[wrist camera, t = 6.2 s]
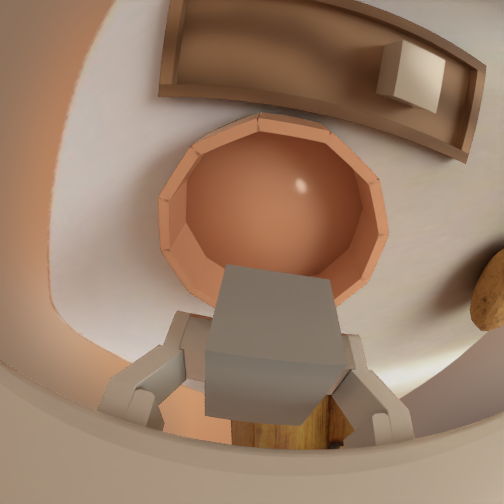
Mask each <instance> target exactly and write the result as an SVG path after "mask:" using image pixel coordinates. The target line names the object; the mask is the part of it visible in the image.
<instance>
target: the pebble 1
mask: <svg viewBox="0 0 504 504" xmlns="http://www.w3.org/2000/svg"><path fill="white" fill-rule="evenodd" d="M346 366H347V363H346V357H345V352H344V346H343V341H342V336H341V331H340V326H339V321H338V316H337V311H336V306H335V302H334V297H333V293H332V288H331V284H330V280H329V279H323V278H316V277H309V276H302V275H295V274H289V273H282V272H275V271H269V270H262V269H255V268H249V267H242V266H236V265H230V264H226V267H225V271H224V275H223V279H222V283H221V287H220V291H219V295H218V299H217V303H216V307H215V311H214V315H213V319H212V323H211V328H210V332H209V336H208V340H207V344H206V349H205V416H210V417H216V418H223V419H229V420H236V421H244V422H253V423H263V424H276V425H294V426H301V425H302V424H303V423H304V421H305V420H306V419H307V418H308V417H309V415H310V414H311V413H312V412H313V410H314V409H315V408H316V407H317V405H318V404H319V403H320V402H321V400H322V399H323V398H324V396H325V395H326V394H327V392H328V391H329V390H330V388H331V387H332V386H333V384H334V383H335V381H336V380H337V379H338V377H339V376H340V374H341V373H342V372H343V370H344V369H345V367H346Z"/></svg>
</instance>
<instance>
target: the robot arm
mask: <svg viewBox="0 0 504 504" xmlns="http://www.w3.org/2000/svg"><path fill="white" fill-rule="evenodd" d="M212 319H213V318H211V317H206V316H201V315H197V314H192V313H186V312H182V311H177V312H176V313H175V315H174V318H173V321H172V323H171V326H170V329H169V331H168V334H167V337H166V339H165V342H164V345H158V346H157V347H155V348H154V349H152V350H151V351H150V352H148V353H147V354H145V355H144V356H142V357H141V358H139V359H138V360H137V361H135V362H134V363H132V364H131V365H129V366H128V367H126V368H125V369H123V370H122V371H121V372H119V373H118V374H116V375H115V376H113V377H112V378H110V380H109V382H108V385H107V387H106V390H105V392H104V394H103V397H102V400H101V402H100V404H99V407H98V409H97V410H95V409H93V408H90V407H88V406H85V405H83V404H81V403H78V402H76V401H74V400H71V399H69V398H67V397H65V396H63V395H61V394H59V393H57V392H55V391H53V390H51V389H49V388H47V387H45V386H43V385H41V384H39V383H38V382H36V381H34V380H32V379H30V378H29V377H27V376H25V375H23V374H22V373H20V372H18V371H17V370H15V369H14V368H12V367H10V366H9V365H7V364H6V363H4V362H2V361H1V360H0V504H504V412H501V413H499V414H496V415H494V416H492V417H489V418H487V419H484V420H481V421H478V422H475V423H473V424H469V425H466V426H463V427H460V428H457V429H453V430H450V431H446V432H443V433H439V434H435V435H431V436H427V437H422V438H417V439H415V437H414V432H413V428H412V423H411V418H410V414H409V410H408V409H407V407H406V406H405V405H404V404H403V403H402V402H401V401H400V400H399V399H398V398H397V397H396V396H395V395H394V393H393V392H392V391H391V390H390V389H389V388H388V387H387V386H386V385H385V384H384V383H383V382H382V381H381V379H380V378H379V377H378V376H377V375H376V374H375V373H374V372H373V371H372V370H368V367H367V362H366V358H365V354H364V350H363V346H362V342H361V338H360V336H359V335H352V334H341V336H342V341H343V346H344V352H345V357H346V363H347V366H346V367H345V369H344V370H343V372H342V373H341V374H340V376H339V377H338V379H337V380H336V381H335V383H334V384H333V386H332V387H331V388H330V390H329V391H328V392H327V394H326V395H332V397H333V399H334V400H335V402H336V403H337V405H338V406H339V408H340V409H341V411H342V412H343V413H344V415H345V416H346V418H347V419H348V421H349V422H350V424H351V425H352V427H353V428H354V430H355V431H354V432H353V433H351V434H350V435H349V436H347V437H346V438H345V439H344V440H343V442H344V449H324V450H289V449H269V448H256V447H246V446H237V445H229V444H222V443H215V442H210V441H204V440H198V439H193V438H188V437H183V436H178V435H175V434H171V433H166V432H163V427H164V420H163V418H162V415H161V413H160V410H159V407H158V405H159V404H160V403H162V401H164V400H165V399H166V398H167V397H168V396H169V395H170V394H171V393H172V392H173V391H175V390H176V389H177V388H178V387H179V386H180V385H181V384H182V383H183V382H184V381H185V380H186V378H188V379H193V380H199V381H205V349H206V344H207V340H208V336H209V332H210V328H211V323H212Z"/></svg>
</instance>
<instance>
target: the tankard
mask: <svg viewBox="0 0 504 504" xmlns="http://www.w3.org/2000/svg"><path fill="white" fill-rule="evenodd" d="M354 431H355V430H354V428H353V427H352V425H351V424H350V422H349V421H348V419H347V418H346V416H345V415H344V413H343V412H342V411H341V409H340V408H339V406H338V405H337V403H336V402H335V400H334V399H333V397H332V395H325V396H324V398H323V399H322V400H321V402H320V403H319V404H318V405H317V407H316V408H315V409H314V410H313V412H312V413H311V414H310V415H309V417H308V418H307V419H306V420H305V421H304V423H303V424H302V425H301V426H294V425H276V424H263V423H253V422H244V421H236V420H231V434H232V445H237V446H246V447H256V448H269V449H289V450H324V449H344V442H343V440H344V439H345V438H346V437H347V436H349V435H350V434H351V433H353V432H354Z"/></svg>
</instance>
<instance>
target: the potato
mask: <svg viewBox="0 0 504 504" xmlns="http://www.w3.org/2000/svg"><path fill="white" fill-rule="evenodd" d="M470 314H471V320H472V321H473V323H474V324H475V325H476V326H477V327H478V328H479V329H480V330H481V331H489V330H492V329H495V328H498V327H500V326H501V325H503V324H504V248H503V249H502V250H501V251H499V252H498V253H497V254H496V255H494V256H493V257H492V258H491V259H490V261H489V262H488V264H487V265H486V267H485V269H484V270H483V272H482V274H481V276H480V278H479V280H478V282H477V284H476V286H475V289H474V291H473V295H472V301H471V306H470Z"/></svg>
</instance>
